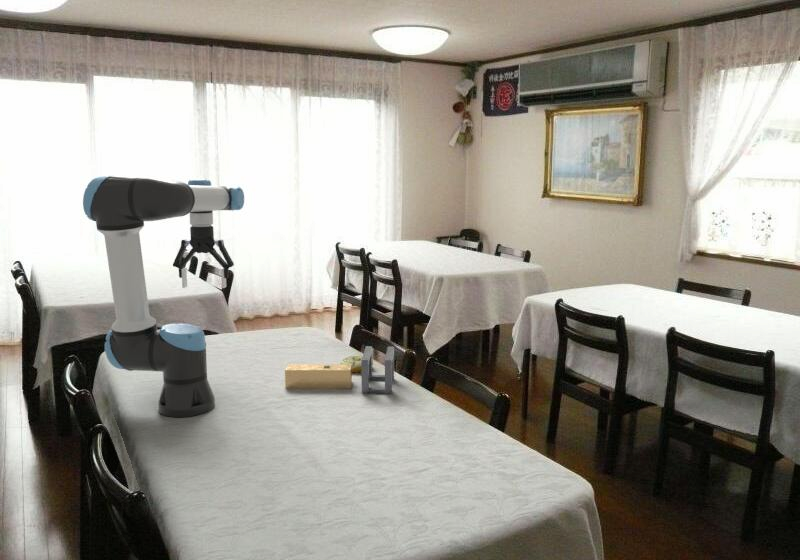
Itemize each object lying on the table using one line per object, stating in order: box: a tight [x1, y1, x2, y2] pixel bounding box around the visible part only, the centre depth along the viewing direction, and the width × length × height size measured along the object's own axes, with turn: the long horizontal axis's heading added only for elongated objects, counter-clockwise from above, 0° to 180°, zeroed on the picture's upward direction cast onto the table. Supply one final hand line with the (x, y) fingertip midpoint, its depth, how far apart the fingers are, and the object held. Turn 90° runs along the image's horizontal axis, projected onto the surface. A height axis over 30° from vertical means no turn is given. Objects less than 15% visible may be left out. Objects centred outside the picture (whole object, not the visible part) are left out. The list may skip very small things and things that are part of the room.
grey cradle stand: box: [360, 345, 395, 395], centre depth 202 cm, size 14×9×10 cm, turn 178°
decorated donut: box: [340, 354, 374, 373], centre depth 219 cm, size 10×11×4 cm
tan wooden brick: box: [284, 363, 353, 389], centre depth 203 cm, size 20×6×6 cm, turn 91°
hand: (204, 287), depth 224 cm, fingers open, 13 cm apart
